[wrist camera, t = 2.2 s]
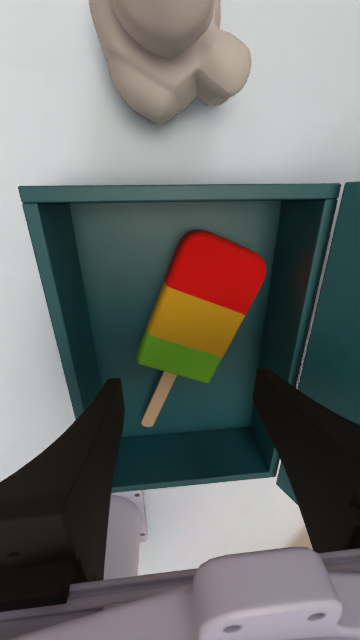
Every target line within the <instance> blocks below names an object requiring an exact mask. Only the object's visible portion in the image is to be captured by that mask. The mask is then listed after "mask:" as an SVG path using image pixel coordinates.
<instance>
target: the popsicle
mask: <svg viewBox="0 0 360 640" xmlns="http://www.w3.org/2000/svg"><path fill="white" fill-rule="evenodd" d="M266 270H267V267H266V264H265V261H264V260H263V258H262V257H261V256H260V255H259V254H257V253H256V252H254V251H252V250H250V249H248V248H246V247H244V246H241V245H239V244H237V243H235V242H232V241H230V240H228V239H225V238H223V237H221V236H218V235H216V234H214V233H211V232H208V231H205V230H192V231H190V232H188V233H186V234H185V235H184V236H183V237H182V238H181V240H180V242H179V244H178V246H177V248H176V250H175V253H174V256H173V258H172V261H171V263H170V266H169V269H168V271H167V274H166V276H165V279H164V282H163V284H162V287H161V289H160V292H159V295H158V297H157V300H156V302H155V305H154V308H153V310H152V313H151V315H150V318H149V321H148V323H147V326H146V328H145V331H144V334H143V336H142V339H141V341H140V344H139V347H138V349H137V354H136V361H137V362H138V363H139V364H140V365H144V366H147V367H151V368H154V369H158V370H162V371H163V373H162V375H161V378H160V380H159V382H158V384H157V386H156V389H155V391H154V393H153V395H152V398H151V400H150V402H149V404H148V407H147V409H146V411H145V413H144V416H143V418H142V422H141V423H142V425H143V426H145V427H151V426H153V425H154V423H155V420H156V418H157V416H158V414H159V412H160V410H161V408H162V406H163V404H164V401H165V399H166V397H167V395H168V393H169V391H170V389H171V387H172V385H173V382H174V380H175V378H176V376H177V375H180V376H183V377H187V378H190V379H194V380H198V381H201V382H205V383H209V382H210V380H211V378H212V377H213V375H214V373H215V371H216V369H217V367H218V365H219V364H220V362H221V360H222V358H223V356H224V354H225V352H226V351H227V349H228V347H229V345H230V343H231V341H232V339H233V338H234V336H235V334H236V332H237V330H238V328H239V326H240V325H241V323H242V321H243V319H244V317H245V315H246V313H247V312H248V310H249V308H250V306H251V304H252V302H253V300H254V299H255V297H256V295H257V293H258V291H259V289H260V288H261V286H262V284H263V281H264V279H265V276H266Z"/></svg>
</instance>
